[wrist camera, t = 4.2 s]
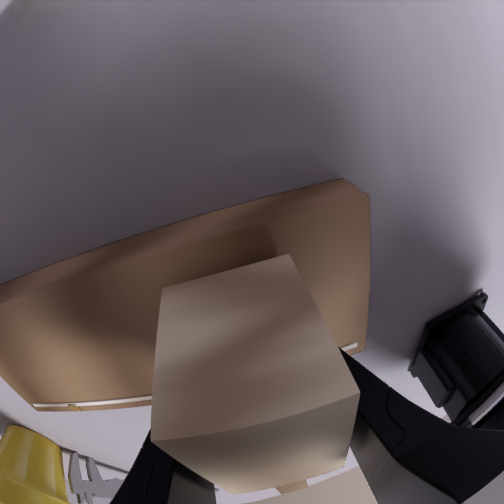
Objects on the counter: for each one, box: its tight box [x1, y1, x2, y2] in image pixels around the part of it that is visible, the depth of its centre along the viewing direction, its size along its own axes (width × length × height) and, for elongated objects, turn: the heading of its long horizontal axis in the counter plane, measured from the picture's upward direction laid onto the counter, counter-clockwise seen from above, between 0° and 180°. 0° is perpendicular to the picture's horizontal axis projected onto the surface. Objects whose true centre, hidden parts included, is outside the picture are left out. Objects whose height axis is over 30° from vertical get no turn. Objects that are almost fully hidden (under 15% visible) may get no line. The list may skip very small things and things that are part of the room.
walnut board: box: [0, 178, 371, 411], centre depth 11 cm, size 20×8×2 cm, turn 102°
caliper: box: [68, 452, 220, 504], centre depth 22 cm, size 20×1×6 cm, turn 43°
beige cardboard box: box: [151, 254, 360, 495], centre depth 9 cm, size 4×9×5 cm, turn 12°
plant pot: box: [0, 425, 70, 504], centre depth 14 cm, size 10×10×10 cm
